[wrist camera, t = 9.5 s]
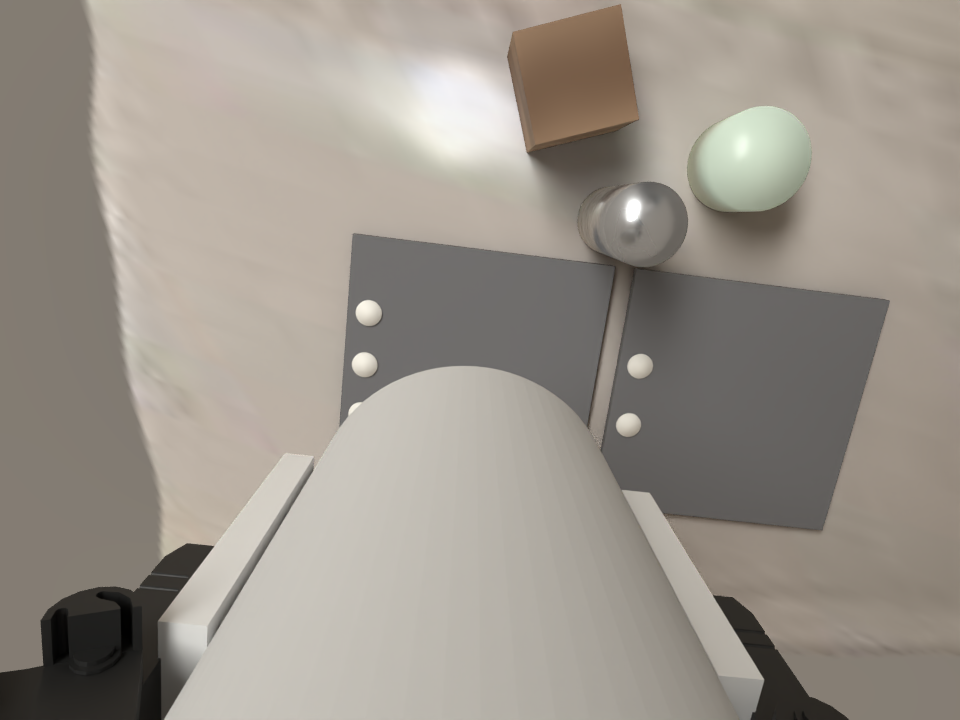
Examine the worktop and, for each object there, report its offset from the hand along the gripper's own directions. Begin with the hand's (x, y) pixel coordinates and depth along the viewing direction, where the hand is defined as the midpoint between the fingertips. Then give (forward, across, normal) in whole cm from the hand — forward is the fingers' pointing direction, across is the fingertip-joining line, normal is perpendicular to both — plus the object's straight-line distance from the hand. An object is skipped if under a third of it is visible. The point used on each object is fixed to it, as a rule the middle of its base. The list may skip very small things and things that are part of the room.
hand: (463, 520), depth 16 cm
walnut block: (+14, +3, +13) cm, 19 cm away
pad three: (+14, 0, 0) cm, 14 cm away
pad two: (+14, +13, 0) cm, 19 cm away
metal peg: (+14, +6, +8) cm, 17 cm away
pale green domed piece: (+14, +11, +11) cm, 21 cm away
